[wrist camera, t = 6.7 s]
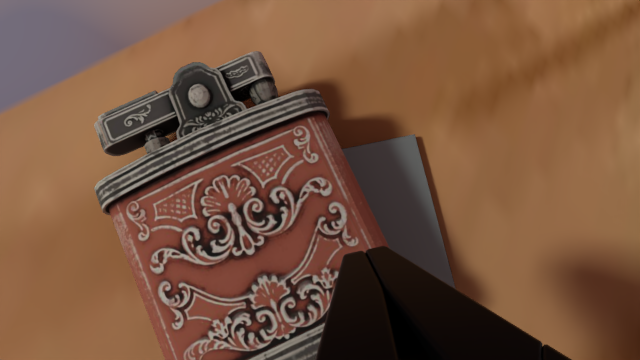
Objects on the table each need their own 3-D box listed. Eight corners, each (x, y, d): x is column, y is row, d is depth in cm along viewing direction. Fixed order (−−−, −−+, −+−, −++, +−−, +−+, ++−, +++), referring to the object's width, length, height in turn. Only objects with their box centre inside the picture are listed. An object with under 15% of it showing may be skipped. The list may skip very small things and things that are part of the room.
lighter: (411, 295, 15) (294, 54, 17) (434, 307, 12) (285, 4, 13) (200, 396, 15) (101, 140, 16) (162, 439, 11) (42, 112, 13)
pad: (453, 291, 16) (456, 292, 15) (180, 354, 15) (178, 356, 15) (412, 136, 17) (414, 134, 16) (155, 189, 16) (152, 188, 16)
